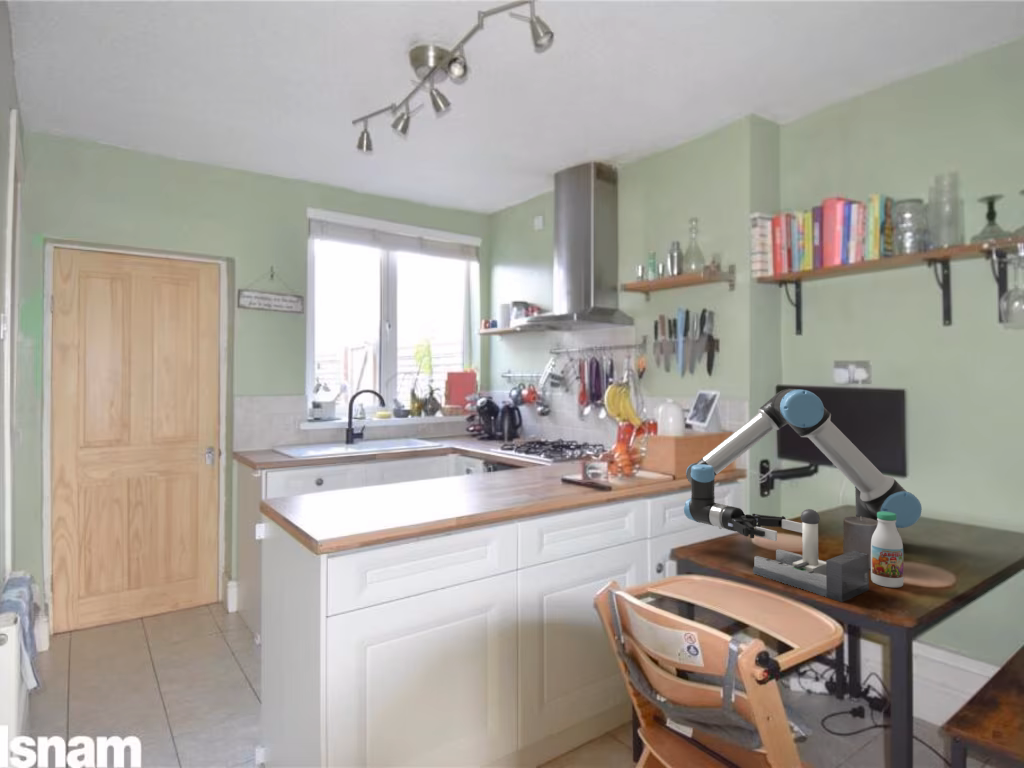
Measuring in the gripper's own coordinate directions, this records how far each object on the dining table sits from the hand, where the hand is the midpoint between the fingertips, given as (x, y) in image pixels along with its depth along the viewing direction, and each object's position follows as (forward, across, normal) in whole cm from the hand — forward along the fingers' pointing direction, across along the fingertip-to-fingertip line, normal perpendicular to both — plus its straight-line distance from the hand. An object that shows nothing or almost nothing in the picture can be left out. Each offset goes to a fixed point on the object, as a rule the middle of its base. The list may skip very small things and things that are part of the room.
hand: (790, 532), depth 170 cm
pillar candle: (+7, -27, -13) cm, 31 cm away
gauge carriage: (+6, +1, -11) cm, 12 cm away
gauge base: (+5, 0, -13) cm, 14 cm away
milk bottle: (+19, -16, -13) cm, 28 cm away
